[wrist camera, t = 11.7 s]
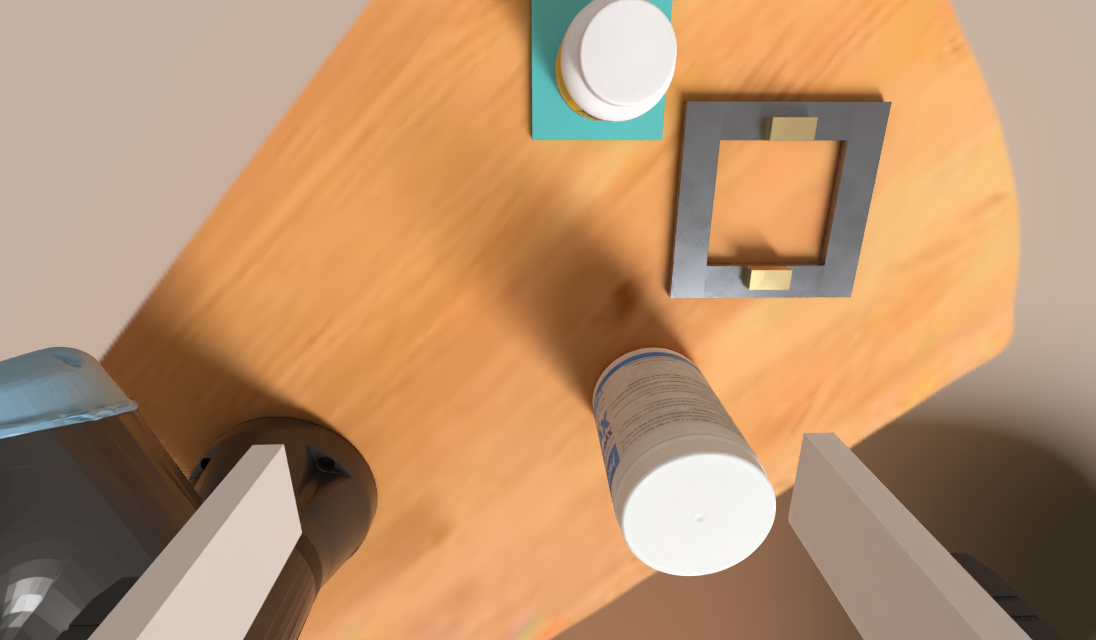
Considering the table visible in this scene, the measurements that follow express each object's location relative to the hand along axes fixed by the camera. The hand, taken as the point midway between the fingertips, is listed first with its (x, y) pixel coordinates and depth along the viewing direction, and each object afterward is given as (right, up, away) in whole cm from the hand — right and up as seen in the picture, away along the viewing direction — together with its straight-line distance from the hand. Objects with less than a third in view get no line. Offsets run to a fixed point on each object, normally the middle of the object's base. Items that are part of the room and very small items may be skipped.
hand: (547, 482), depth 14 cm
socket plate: (+16, +13, +26) cm, 33 cm away
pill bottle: (+3, +21, +22) cm, 31 cm away
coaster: (+3, +21, +23) cm, 31 cm away
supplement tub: (+8, -2, +32) cm, 33 cm away
